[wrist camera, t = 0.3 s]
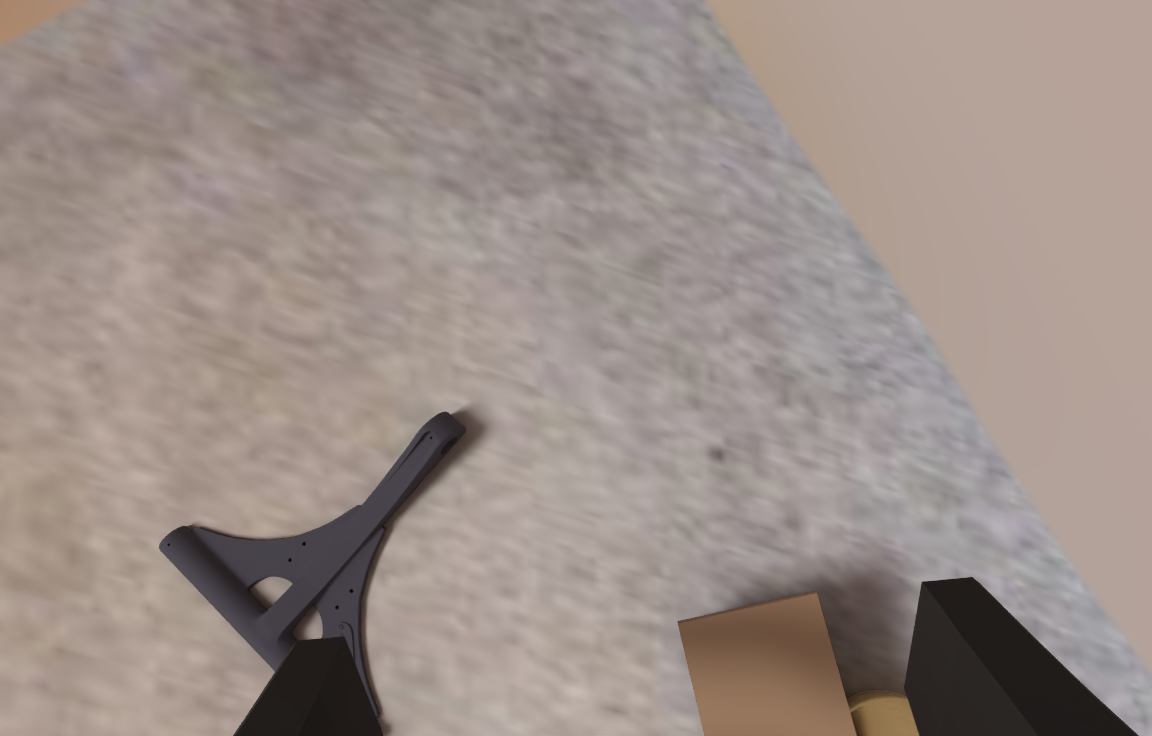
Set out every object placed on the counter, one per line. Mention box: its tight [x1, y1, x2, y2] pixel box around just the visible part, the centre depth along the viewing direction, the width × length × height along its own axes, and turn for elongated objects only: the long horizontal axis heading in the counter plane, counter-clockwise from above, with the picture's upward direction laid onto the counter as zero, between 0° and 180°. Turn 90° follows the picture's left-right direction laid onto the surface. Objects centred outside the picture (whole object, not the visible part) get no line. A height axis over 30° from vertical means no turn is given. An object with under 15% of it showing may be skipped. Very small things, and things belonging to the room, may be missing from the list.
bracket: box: [159, 412, 465, 728], centre depth 40 cm, size 14×15×3 cm
